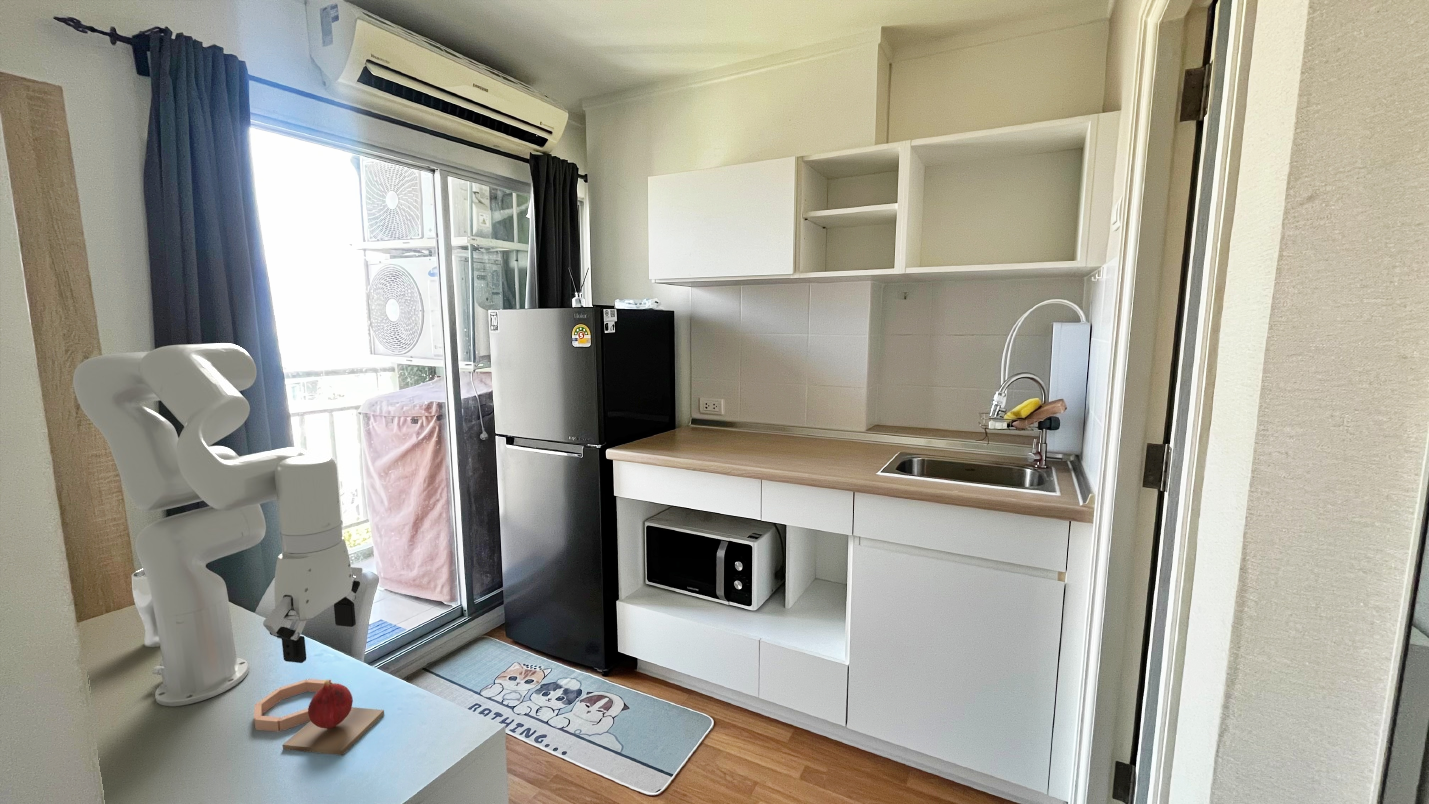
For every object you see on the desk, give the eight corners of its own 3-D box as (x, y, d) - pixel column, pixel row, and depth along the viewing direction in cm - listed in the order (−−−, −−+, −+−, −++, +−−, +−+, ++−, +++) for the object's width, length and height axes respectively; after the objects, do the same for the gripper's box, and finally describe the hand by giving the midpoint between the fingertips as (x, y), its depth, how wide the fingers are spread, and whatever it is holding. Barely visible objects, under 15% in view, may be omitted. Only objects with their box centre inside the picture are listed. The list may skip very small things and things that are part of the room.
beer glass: (183, 626, 122) (173, 560, 120) (192, 636, 118) (181, 568, 116) (138, 641, 117) (126, 572, 115) (145, 652, 113) (133, 581, 110)
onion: (363, 720, 92) (358, 675, 91) (325, 745, 87) (320, 696, 85) (340, 710, 94) (335, 666, 93) (302, 733, 89) (297, 686, 88)
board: (282, 749, 87) (282, 744, 87) (329, 709, 96) (329, 705, 96) (342, 755, 86) (341, 750, 85) (384, 714, 94) (383, 709, 94)
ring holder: (238, 727, 92) (237, 717, 91) (293, 686, 102) (292, 677, 101) (296, 733, 90) (295, 723, 90) (346, 691, 100) (345, 681, 100)
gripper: (334, 515, 95) (342, 611, 98) (235, 560, 78) (248, 674, 81) (376, 519, 94) (382, 615, 97) (285, 564, 77) (296, 680, 80)
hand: (321, 642), depth 89 cm, fingers open, 9 cm apart
